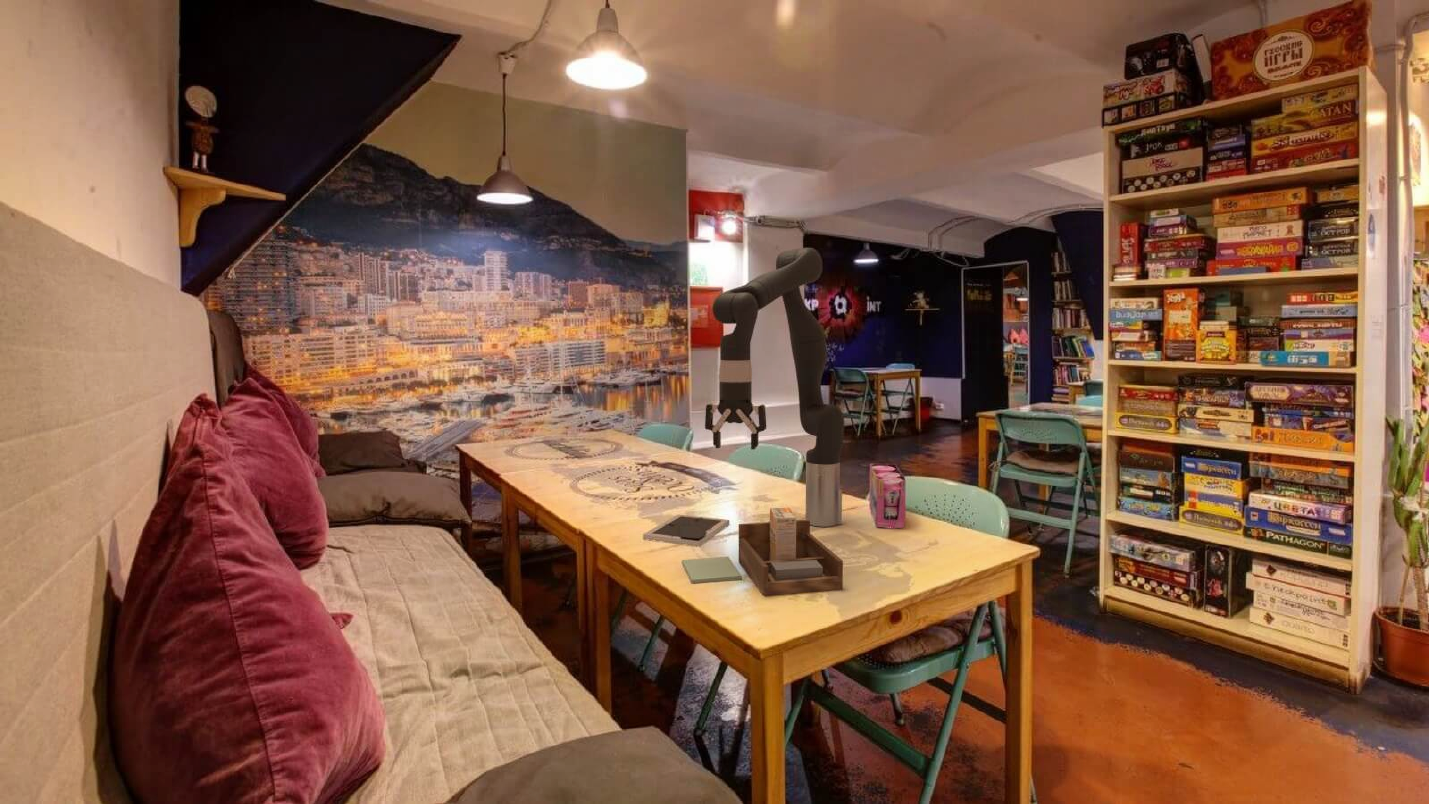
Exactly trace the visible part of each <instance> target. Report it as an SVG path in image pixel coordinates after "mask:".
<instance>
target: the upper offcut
mask: <svg viewBox="0 0 1429 804" xmlns="http://www.w3.org/2000/svg"><path fill="white" fill-rule="evenodd" d="M771 575H772V577H773V578H774V580H775V581H783V580H795V579H807V578H819V577H823V567H822V566H821V565H820V564H819V562H818V561H817V560H807V561H789V562H771Z"/></svg>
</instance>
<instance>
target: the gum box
mask: <svg viewBox="0 0 1429 804" xmlns="http://www.w3.org/2000/svg"><path fill="white" fill-rule="evenodd" d="M906 492H907V491H906V477H905V475H904V474H903V473H902V472H901V470H900V469H899V468H898V465H897V464H896V463H870V464H869V510H871V511H870V513H871V517H872V519H874V520H873V522H875V523H874V525H875V527H889V528H888V529H895V528H905V529H906V527H905V526H906ZM890 527H891V528H890Z"/></svg>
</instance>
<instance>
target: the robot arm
mask: <svg viewBox="0 0 1429 804" xmlns="http://www.w3.org/2000/svg"><path fill="white" fill-rule="evenodd" d="M822 272H823V260H822V257H821V254H820V253H819V252H818V250H816V249H815V248H813V247H801V248H795V249H791V250H784V251H781V252H779V254H778V255H777V257H776V260H775V269H774V270H771V271H769V272H765V273H763V274H761V275H758V276H757V277H755V278H753V279H752V280H750V281H748V282H746V284H744V285H741V286H738V287H734V288H731V289H729V290H726V291H723V292H722V293H720V294H719V295H718V296H716V298H715V300H714V301H713V304H712V308H711V311H712V314H713V317H714V318H715V320H716V321H718V322H719V323H721V324H725V325H735V327H734V329H733V332H731V333H729V334H725V335H723V336H721V338H720V341H719V342H720V343H719V344H720V345H719V347H720V348H719V354H720V359H719V360H720V361H719V371H718V372H719V373H718V381H719V385H718V386H719V387H718V391H719V392H718V394H719V395H718V397H719V398H718V399H719V402H718V404H714V403H708V404H706V406H705V416H704V418H705V420H704V429H706V430H709V431H711V432H712V444H713V446H715V449H721V447H722V442H721V439H722V436H721V432H722V431H720V430H721V429H722V428H723V426H724V425H725V424H726V423H727V424H734V423H736V424H743V423H744V424H745V425H746V427H747V428H748V429H749V430H750V431H751V434H750V450H751V451H754V450H756V448H757V447H758V446H759V434H760V432H764V431H765V430H767V415H766V405H765V404H760V405H754V404H753V402H752V400H753V399H752V387H753V386H752V379H753V378H752V375H753V374H752V364H751V342H752V339H753V338H752V337H753V334H754V330H755V326H756V322H757V319H758V313H759V311H761V310H762V309H763V308H765V307H767V306H769V305H770V304H771V303H772V302H774V301H775V300H777V299H778V298H780V297H782V301H783V304H784V310H785V313H786V320H787V324H788V331H789V339H790V345H791V352H792V357H793V361H794V367H795V375H796V381H797V389H798V402H799V403H798V404H799V405H798V406H799V420H800V424H801V428H802V429H803V431H804V432H805V433H806V434H808V435H810V436H813V437H816V438H815V445H814V447H813V448H812V449H811V448H810V449H808V450H807V451H806V454H805V520H810V526H814V527H825V528H827V527H828V528H829V527H834V526H838V525H842V524H843V523H842V521H843V520H842V519H843V490H842V489H840V479H841V478H840V468H841V467H840V466H841V462H840V461H841V456H842V453H843V449H844V439H845V438H844V437H845V417H844V413H843V411H842V409H841V408H840V407H839V406H838V405H833V404H828V403H824V399H823V394H822V389H821V388H822V387H821V386H822V385H821V382H822V377H823V373H824V372H825V367H826V363H827V358H828V348H827V342H826V335H825V331H824V329H823V327H822V325H821V324H820V322H819V321H818V319H817V318H816V317H815V316H814V315H813V313H812V312H811V311H810V309H809V308H808V307H807V305H806V303H805V302H804V299H803V295H802V294H801V293H802V292H801V289H800V287H801V286H804V285H806V284H811V283H813V282H815V281H817V280H818V279H819V278H820V277H821V275H822ZM716 411H718V413H720V415H721V417H719V419H718V420H717V422H716V424H714V414H715V413H716ZM753 412H755V414H756V415H758V426H757V425H756V423H755V421H754V419H753V418H752V417H751V415H752V413H753Z"/></svg>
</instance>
